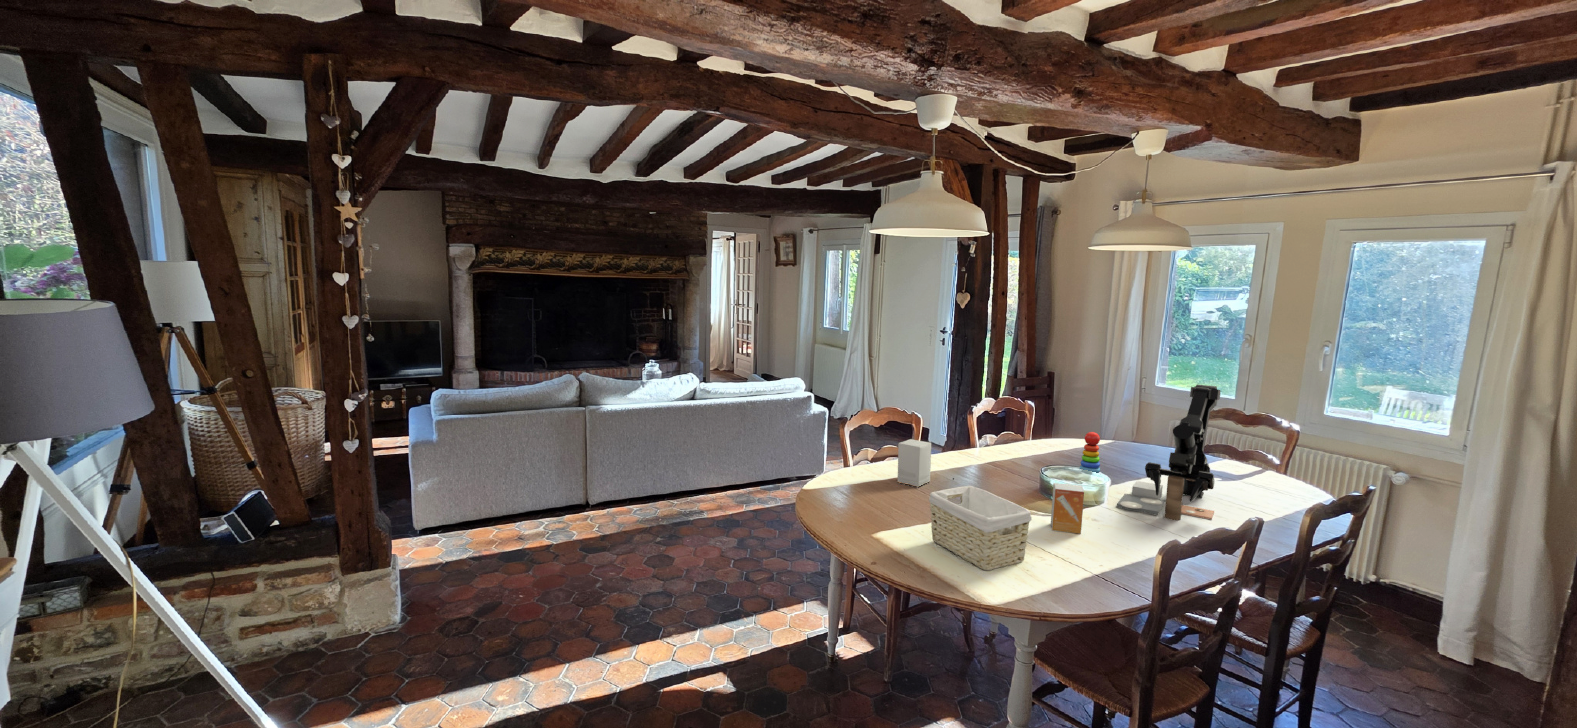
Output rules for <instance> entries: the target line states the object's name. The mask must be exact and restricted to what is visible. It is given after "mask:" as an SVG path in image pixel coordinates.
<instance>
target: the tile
mask: <svg viewBox="0 0 1577 728" xmlns="http://www.w3.org/2000/svg"><path fill="white" fill-rule="evenodd" d="M1214 514H1215V510H1211V509H1206V508H1201V507H1195V506H1191V505H1185V504H1182V508H1181V515H1185V516H1190V517H1191V516H1192V517H1197V518H1201V519H1206V520H1212V519H1213V517H1214Z"/></svg>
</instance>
